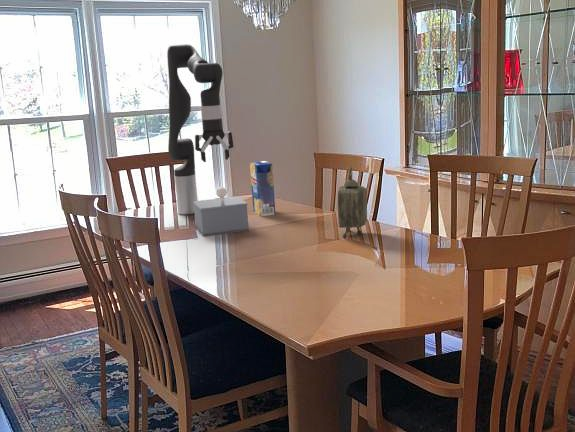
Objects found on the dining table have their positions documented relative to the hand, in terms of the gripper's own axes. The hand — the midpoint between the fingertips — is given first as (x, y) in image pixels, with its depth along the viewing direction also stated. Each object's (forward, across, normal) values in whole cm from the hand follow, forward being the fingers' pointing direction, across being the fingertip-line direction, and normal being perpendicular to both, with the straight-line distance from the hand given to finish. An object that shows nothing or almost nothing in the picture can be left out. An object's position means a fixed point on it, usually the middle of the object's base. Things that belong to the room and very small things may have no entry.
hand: (215, 160), depth 247 cm
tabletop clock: (+29, -44, +28) cm, 60 cm away
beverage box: (+28, -24, -25) cm, 45 cm away
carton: (+28, -1, -6) cm, 29 cm away
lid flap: (+18, -1, -6) cm, 19 cm away
